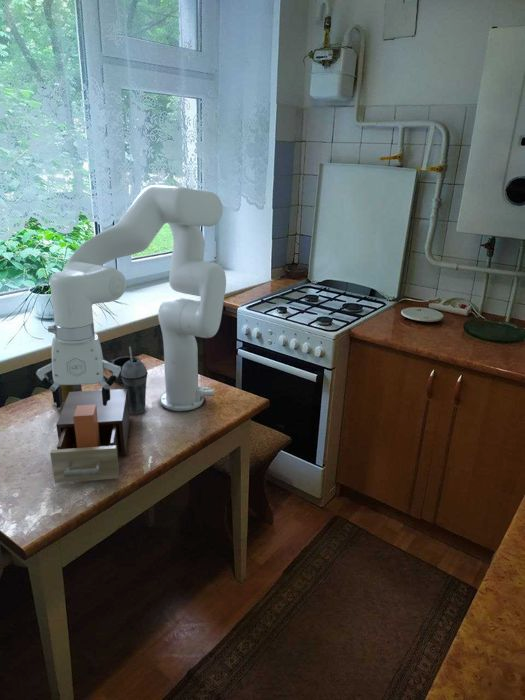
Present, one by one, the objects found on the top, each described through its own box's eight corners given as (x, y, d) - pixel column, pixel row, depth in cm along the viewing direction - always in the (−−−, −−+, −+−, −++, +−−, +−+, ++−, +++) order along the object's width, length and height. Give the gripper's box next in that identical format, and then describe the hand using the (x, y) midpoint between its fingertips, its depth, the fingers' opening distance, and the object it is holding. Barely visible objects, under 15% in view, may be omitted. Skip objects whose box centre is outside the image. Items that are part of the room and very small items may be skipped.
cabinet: (125, 455, 121) (122, 420, 117) (61, 460, 118) (56, 424, 114) (129, 420, 136) (127, 388, 132) (73, 424, 133) (69, 391, 130)
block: (101, 452, 118) (96, 404, 113) (98, 464, 113) (93, 415, 108) (82, 453, 117) (76, 405, 112) (79, 466, 113) (73, 416, 108)
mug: (148, 379, 160) (146, 359, 157) (130, 390, 152) (128, 369, 150) (118, 372, 165) (116, 352, 162) (99, 382, 157) (97, 362, 154)
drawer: (117, 490, 107) (114, 460, 104) (50, 496, 104) (45, 465, 101) (124, 440, 125) (121, 413, 122) (67, 444, 123) (63, 416, 120)
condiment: (80, 398, 147) (75, 361, 142) (91, 409, 141) (86, 371, 136) (55, 405, 143) (49, 367, 138) (65, 417, 137) (59, 378, 132)
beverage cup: (154, 407, 143) (151, 342, 136) (141, 418, 137) (136, 352, 129) (132, 402, 146) (128, 339, 138) (118, 413, 139) (112, 348, 132)
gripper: (26, 338, 98) (37, 414, 104) (116, 336, 101) (121, 410, 107) (35, 326, 105) (45, 398, 111) (119, 324, 108) (124, 394, 114)
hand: (82, 404), depth 109 cm, fingers open, 9 cm apart
